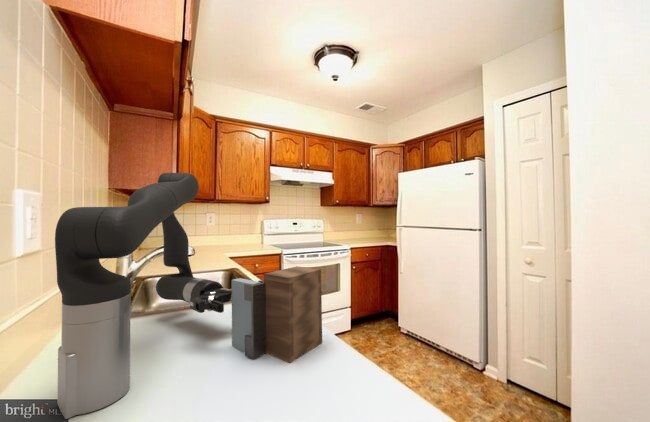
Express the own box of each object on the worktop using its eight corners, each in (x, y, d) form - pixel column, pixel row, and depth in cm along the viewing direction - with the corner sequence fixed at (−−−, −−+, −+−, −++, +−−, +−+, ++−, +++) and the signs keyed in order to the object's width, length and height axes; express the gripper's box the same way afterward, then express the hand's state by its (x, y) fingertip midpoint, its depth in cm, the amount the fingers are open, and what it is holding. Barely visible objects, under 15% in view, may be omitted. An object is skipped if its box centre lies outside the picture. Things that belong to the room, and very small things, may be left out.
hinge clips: (253, 360, 58) (253, 286, 59) (244, 355, 60) (244, 284, 61) (269, 351, 62) (268, 281, 63) (260, 347, 64) (260, 280, 64)
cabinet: (289, 363, 57) (288, 277, 57) (264, 352, 62) (263, 273, 62) (322, 342, 66) (321, 269, 67) (298, 334, 71) (297, 266, 71)
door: (253, 356, 60) (252, 284, 61) (232, 346, 65) (231, 279, 65) (261, 351, 62) (260, 282, 62) (240, 342, 67) (239, 278, 67)
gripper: (176, 284, 70) (211, 294, 60) (225, 275, 81) (261, 282, 71) (176, 314, 70) (211, 328, 60) (225, 300, 81) (261, 310, 71)
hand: (238, 303), depth 66 cm, fingers open, 8 cm apart
